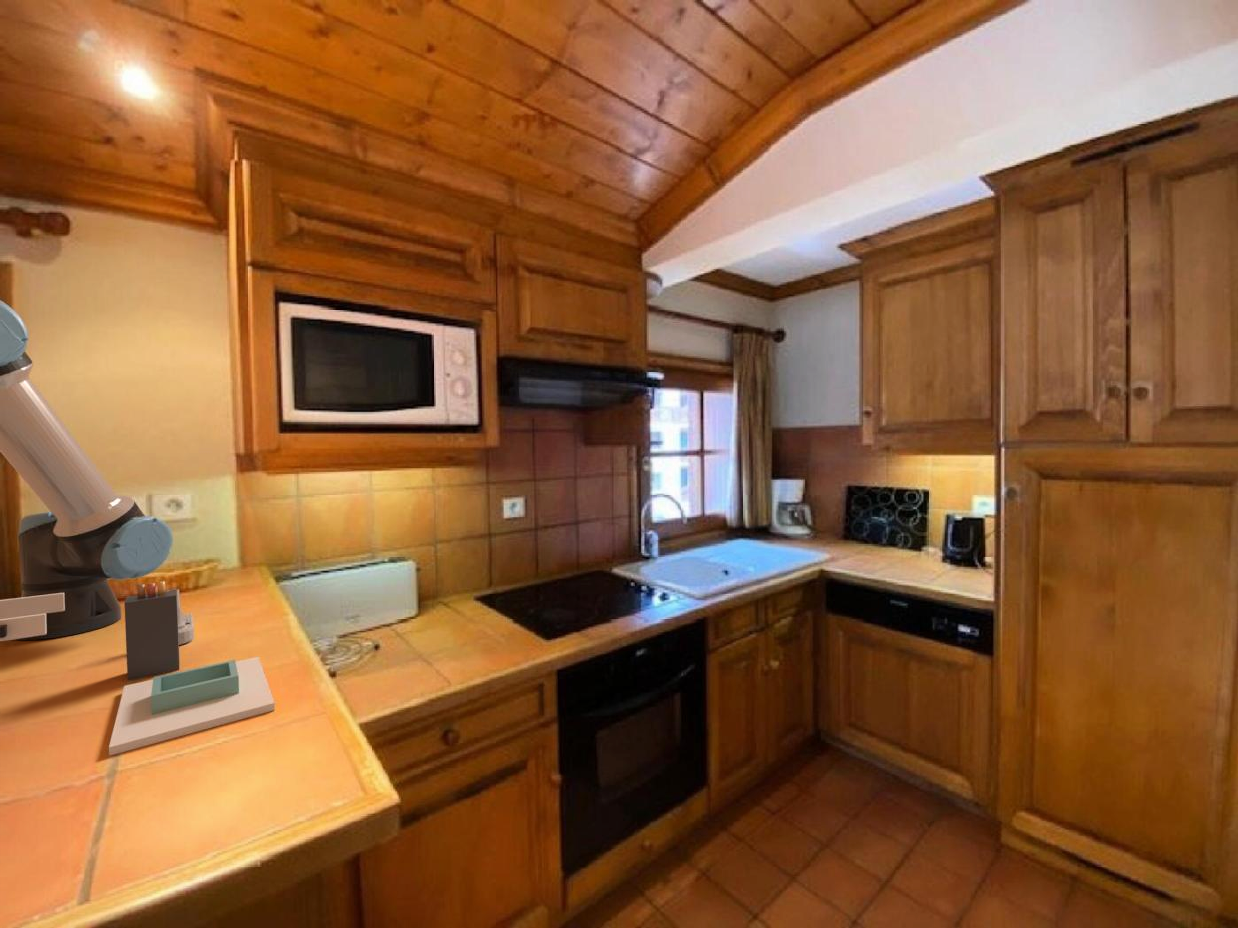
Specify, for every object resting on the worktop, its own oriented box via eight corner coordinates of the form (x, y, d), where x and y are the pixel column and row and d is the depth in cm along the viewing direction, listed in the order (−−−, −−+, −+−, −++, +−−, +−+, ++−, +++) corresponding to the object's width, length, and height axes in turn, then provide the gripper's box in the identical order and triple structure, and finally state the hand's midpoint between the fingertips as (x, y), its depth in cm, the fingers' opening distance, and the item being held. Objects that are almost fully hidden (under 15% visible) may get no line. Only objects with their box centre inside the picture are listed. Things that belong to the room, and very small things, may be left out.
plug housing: (129, 671, 82) (126, 584, 82) (179, 661, 86) (176, 577, 86) (127, 680, 79) (123, 589, 79) (179, 669, 83) (176, 582, 83)
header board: (124, 692, 75) (123, 668, 75) (258, 662, 86) (258, 641, 85) (109, 755, 60) (107, 725, 60) (274, 710, 70) (273, 684, 70)
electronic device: (191, 576, 105) (192, 590, 94) (193, 625, 105) (194, 644, 94) (155, 581, 102) (152, 595, 90) (158, 631, 102) (155, 652, 91)
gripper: (-153, 647, 71) (70, 617, 85) (-278, 719, 52) (37, 664, 66) (-155, 593, 71) (69, 571, 85) (-280, 644, 52) (35, 605, 66)
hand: (56, 611), depth 75 cm, fingers open, 13 cm apart
